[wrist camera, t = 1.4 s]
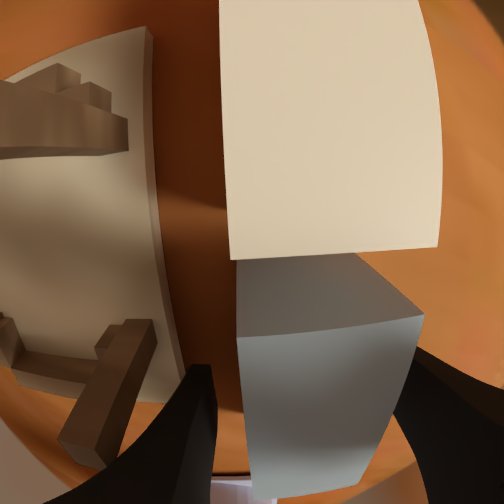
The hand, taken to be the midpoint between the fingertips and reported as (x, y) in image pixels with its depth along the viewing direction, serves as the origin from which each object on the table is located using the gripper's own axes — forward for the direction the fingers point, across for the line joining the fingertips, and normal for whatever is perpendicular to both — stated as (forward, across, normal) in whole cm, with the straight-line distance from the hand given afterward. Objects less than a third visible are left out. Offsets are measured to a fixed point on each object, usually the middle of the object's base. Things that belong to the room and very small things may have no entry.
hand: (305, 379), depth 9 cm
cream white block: (+2, 0, -9) cm, 10 cm away
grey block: (+2, 0, 0) cm, 2 cm away
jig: (+2, +10, -5) cm, 11 cm away
